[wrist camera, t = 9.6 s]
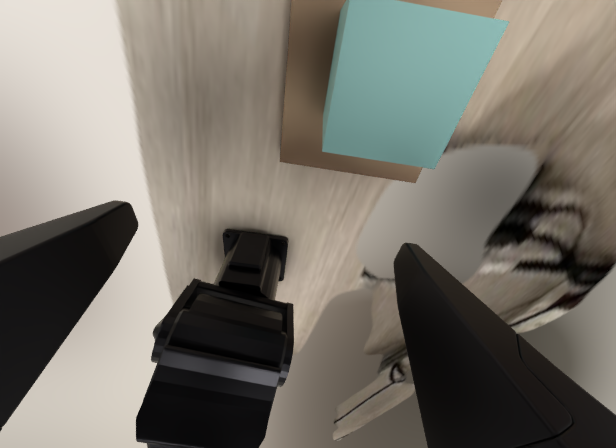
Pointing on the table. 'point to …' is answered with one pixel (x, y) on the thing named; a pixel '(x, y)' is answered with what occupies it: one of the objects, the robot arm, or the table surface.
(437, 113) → the teal block
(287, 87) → the base plinth
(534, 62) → the table surface
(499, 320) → the robot arm
